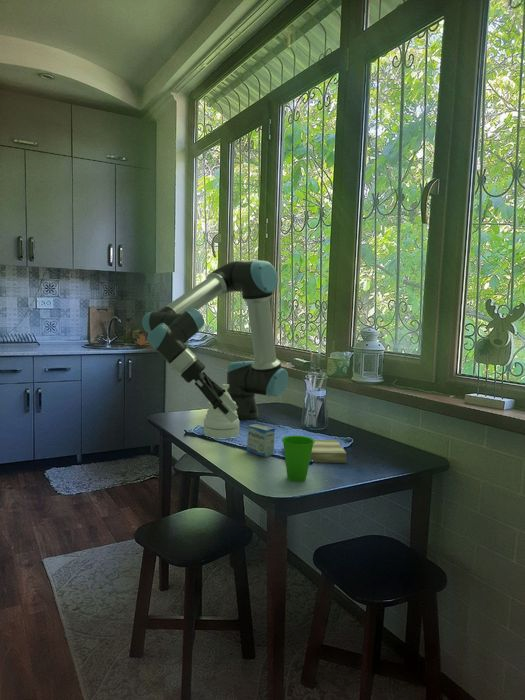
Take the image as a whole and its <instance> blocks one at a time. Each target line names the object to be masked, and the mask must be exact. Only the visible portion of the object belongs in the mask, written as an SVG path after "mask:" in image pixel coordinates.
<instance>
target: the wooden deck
mask: <svg viewBox="0 0 525 700" xmlns="http://www.w3.org/2000/svg"><path fill="white" fill-rule="evenodd" d="M314 441H315V443H313V448H312V452H311V457H310V460H313V461H314V462H313V463H338V464H339V463H341V464H342V463H344V464H346V463H347V451H346V450H345V448H343V446H342V445H341V444H340V442H339V441H338V440H337V439H314ZM283 447H284V444H283V446H282V448H283Z"/></svg>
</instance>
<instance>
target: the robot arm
mask: <svg viewBox="0 0 525 700" xmlns="http://www.w3.org/2000/svg"><path fill="white" fill-rule="evenodd" d="M278 282H279V280H278V274H277V270H276V269H275V266H274V264H273V265H272V263H271V262H270V261H267V260H259V259H258V260H257V259H255V260H234V261H231V262H227V263H226V264H224V265H222V266H220V267H218V268H217V269H214V270H213V271H211V272H210V273H209V274H207V276H206V279H204V280H203V281H202V282H200V283H198V284H197V285H195V286H194V287H192V288H191V289H189V290H188V291H186V292H185V293H183V294H182V295H181V296H179V297H177V298H175V299H174V300H173V301H172V302H170V303H168V304H167V305H165V306H164V307H162V308H161V309H159V310H158V311H148V312H147V313H145V314H144V315H143V318H142V320H141V325H142V328H143V330H144V331H145V332H146V333H148V334H147V336H146V339H147V342H148V343H149V344H150V345H151V346H152V348H153V349H154V350H155V351H156V352H157V353H158V354H159V355H160V356H161V357H162V358H163V359H164V360H165V361H166V362H167V363H168V364H169V365H170V366H171V367H170V368H171V370H172V371H173V370H175V371H176V372H177V374H180V373H181V374H180V377H181V378H182V379H183V380H184V381H185V382H186V383H188V384H189V383H191V382H192V381H193V380H194V381H195V382H194V384H195V385H194V386H196V387H197V388H198V389H199V390H200V392H201V393H202V395H203V396H205V398H206V399H207V401H208V402H209V401H210V403H211V404H212V405H213V408H214V409H216V408H217V409H218V410H219V411H220V412H221V413H222V414H223V415H224V416H225V417H226V418H227V419H228V420H229V421H230V422H231V423H233V422H234V421H235V420H236V419H237V418H238V419H240V420H239V421H241V420H242V421H243V420H244V421H245V420H246V421H247V420H252V419H256V418H258V417H259V409H258V405H257V401H256V398H255V395H260V396H266V397H267V398H272V397H273V398H278V397H280V396H281V395H283V393H284V392H285V390H286V389H287V386H288V385H289V384H288V382H289V374H288V371H287V370H286V369H285V368H284V367H283V368H282V365H281V360H280V359H279V358H277V355H276V345H275V337H274V328H273V320H272V310H271V304H270V299H271V298H272V297H273V296H274V291H275V290H276V288H277V284H278ZM232 292H239V293H241V297H242V300H244V301H245V302H246V303H247V304H246V305H247V311H248V319H249V326H250V334H251V335H250V336H251V343H252V349H253V351H252V352H253V359H254V360H241V361H234V362H233V361H232V362H229V363H228V366H227V372H226V374H227V375H226V378H227V379H226V384H229V388H228V389H227V390H225V389H223V387H222V386H219V384H217V383H216V382H215V381H214V380H213V379H212V378H210V377H209V375H208V374H207V373H206V372H204V370H205V368H206V366H205V364H204V363H203V362H202V361H201V360H200V359H198V358H197V356H196V354H195V353H194V352H193V351H192V350H191V348H189V347H187V345H186V344H185V343H186V342H188V341H189V340H190V339H191V338H193V336H195V335H196V334H197V333H199V331H200V330H201V329H202V328H203V327H204V326H205V319H204V315H203V314H202V313H201V312H200V309H202V308H203V307H205V306H206V305H207V304H209V302H212V300H215V298H217V297H222V296H225V295H226V294H228V293H232ZM226 391H227V392H228V393H229V394H230V396H231V398H232V400H233V401H235V402H236V404H235V403H234V402H233V401H232V400H231V399H230V398H229V397H228V396H227V395H226V394H225V392H226ZM223 393H224V394H223ZM219 397H220V398H219ZM235 410H236V411H237V415H238V416H237V415H236V414H235V413H234V411H235Z"/></svg>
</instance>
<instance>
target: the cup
mask: <svg viewBox="0 0 525 700" xmlns="http://www.w3.org/2000/svg"><path fill="white" fill-rule="evenodd" d="M314 440H315V439H314V438H312V437H310V436H305V435H297V434H296V435H295V434H294V435H293V434H292V435H286V436H283V437H282V438H281V441H282V442H283V444H284V449H283V451H284V453H283V454H284V460H285V469H286V477H287V480H289V481H291V482H295V483H299V482H300V483H301V482H305V480H306V479H307V477H308V476H307V475H308V471H309V467H310V463H311V462H310V457H311V452H312V448H313V443H315V441H314Z"/></svg>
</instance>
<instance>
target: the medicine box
mask: <svg viewBox="0 0 525 700" xmlns="http://www.w3.org/2000/svg"><path fill="white" fill-rule="evenodd" d="M275 432H276V428H273V427H269V426H265V425H262V424H259V423H258V424H257V423H254V424H250V425H248V426H247V441H246V443H247V444H246V452H247V453H250V454H253V455H257V456H260V457H264V458H266V457H270V456H273V455H275V454H274V453H275V435H276V434H275Z"/></svg>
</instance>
